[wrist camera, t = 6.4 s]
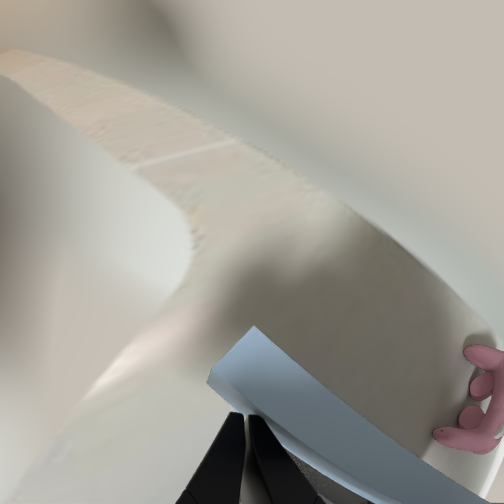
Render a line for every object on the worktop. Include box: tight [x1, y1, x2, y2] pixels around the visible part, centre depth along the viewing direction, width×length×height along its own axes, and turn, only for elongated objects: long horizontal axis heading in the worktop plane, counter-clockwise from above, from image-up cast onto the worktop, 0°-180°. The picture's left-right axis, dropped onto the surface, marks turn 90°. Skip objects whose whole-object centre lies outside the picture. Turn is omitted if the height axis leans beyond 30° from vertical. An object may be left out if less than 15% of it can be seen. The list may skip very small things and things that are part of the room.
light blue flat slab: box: [206, 326, 504, 504], centre depth 9 cm, size 17×2×11 cm, turn 48°
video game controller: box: [433, 344, 504, 454], centre depth 15 cm, size 10×5×7 cm, turn 141°
